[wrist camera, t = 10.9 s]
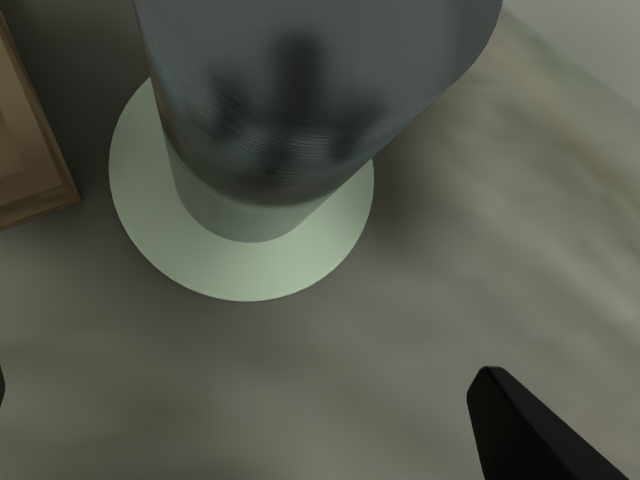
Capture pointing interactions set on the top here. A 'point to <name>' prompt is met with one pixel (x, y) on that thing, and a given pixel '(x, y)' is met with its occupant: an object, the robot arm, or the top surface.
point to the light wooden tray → (27, 147)
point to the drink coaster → (204, 246)
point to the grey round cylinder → (294, 95)
